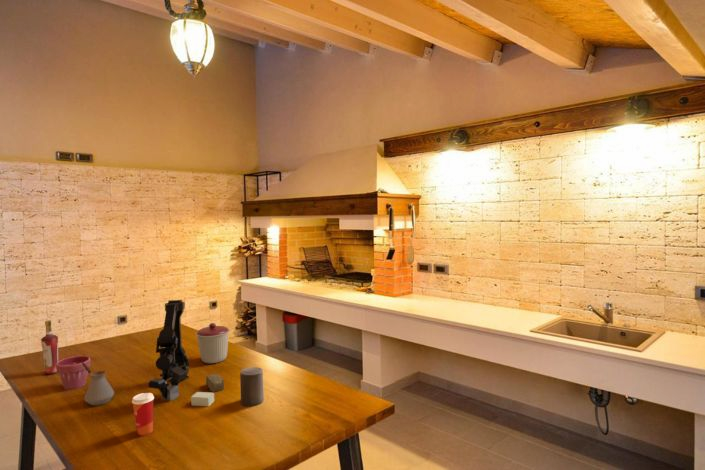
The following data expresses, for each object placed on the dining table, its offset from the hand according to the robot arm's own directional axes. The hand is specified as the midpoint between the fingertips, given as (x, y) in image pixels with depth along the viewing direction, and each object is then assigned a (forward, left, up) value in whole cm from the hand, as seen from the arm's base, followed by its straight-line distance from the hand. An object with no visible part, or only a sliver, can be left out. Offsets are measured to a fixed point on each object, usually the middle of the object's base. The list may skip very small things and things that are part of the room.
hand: (170, 395), depth 198 cm
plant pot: (-56, -3, -1) cm, 56 cm away
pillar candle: (+38, +8, -1) cm, 39 cm away
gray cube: (0, 0, -1) cm, 1 cm away
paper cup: (+13, -27, -1) cm, 30 cm away
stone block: (+12, +15, -1) cm, 20 cm away
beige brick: (+18, 0, -1) cm, 18 cm away
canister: (-12, +46, -1) cm, 48 cm away
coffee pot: (-33, -11, -1) cm, 35 cm away
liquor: (-85, +6, -1) cm, 85 cm away
